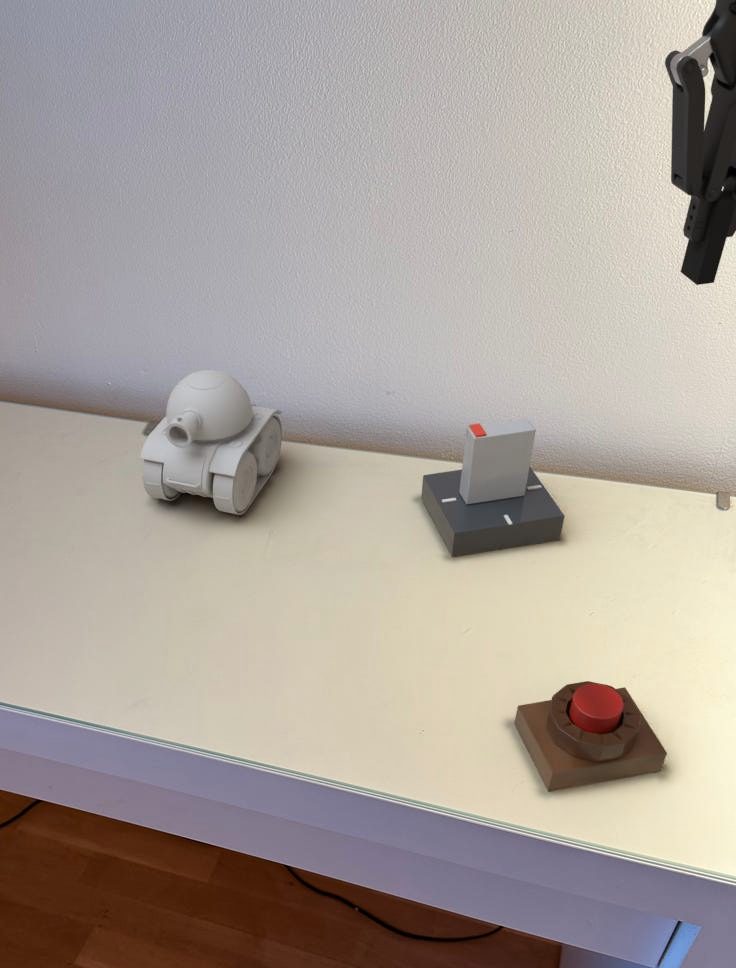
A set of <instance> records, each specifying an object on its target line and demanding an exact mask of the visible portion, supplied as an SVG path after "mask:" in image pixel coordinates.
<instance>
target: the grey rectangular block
mask: <svg viewBox="0 0 736 968" xmlns="http://www.w3.org/2000/svg"><path fill="white" fill-rule="evenodd" d="M465 432H466V433H465V439H464V449H463V458H462V465H461V470H462V474H461V482H460V491H459V492H460V494H461V496H462V498H463V499H464V501H465V503H466V504H473V503H480V502H486V501H493V500H500V499H506V498H513V497H519V496H524V495H525V490H526V484H527V479H528V473H529V467H531V460H532V455H533V449H534V443H535V437H536V428H535V427H534V425H533V424H532V422H531V421H530V420H529V419H528V418H527V417H526V418H525V417H524V418H518V419H512V420H505V421H504V420H503V421H497V422H490V423H483V424H481V423H473V424H469V425H468V426H466V431H465Z"/></svg>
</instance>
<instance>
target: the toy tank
mask: <svg viewBox="0 0 736 968" xmlns="http://www.w3.org/2000/svg"><path fill="white" fill-rule="evenodd" d="M165 413H166V415H165V416H164V418H162V420H161V421H160V422H159V423H158V424H157V426H155V428H154V429H153V430H152V431H151V432H150V433H149V435H148V436H147V438H146V440H145V441H144V444H143V446H142V448H141V451H140V455H139V459H140V460H143V465H142V482H143V483H142V484H143V487H144V491H145V492H146V494H147V495H148V496H149V497H151V498H156V499H160V500H164V501H170V502H172V501H175V500H176V499H177V498H179V497H180V495H182V493H183V494H185V493H187V494H190V495H193V496H196V495H198V496H201V497H203V498H206V497H207V498H212V500H213V504H214V506H215V508H216V509H217V510H218V511H219V512H222V513H228V514H232V515H238V516H242V515H243V514H245V513H246V512H247V511H248V509H249V507H250V506H251V505H252V503H253V502H254V500H255V499H256V498H257V496H258V495H259V493H260V491H261V490H262V489H263V487H264V486H265V484H266V483H267V481H268V480H269V479H270V477H271V476H272V474H273V473H274V471H275V469H276V467H277V464H278V461H279V458H280V454H281V450H282V441H283V427H282V422H281V419H280V417H279V416H278V415H281V414H282V411H281V410H280V409H277V408H271V407H264V406H259V405H257V404H256V403H254V402H251V397H250V396H249V394H248V392H247V390H246V389H245V387H244V385H243V384H242V383H240V381H238V380H237V379H236V378H235V377H233V376H232V375H230V374H228V373H226V372H224V371H221V370H215V369H203V370H197V371H194V372H192V373H189V374H188V375H186V376H185V377H184V378H182V379H181V380H180V381H179V382H177V384H176V385H175V386H174V388H173V389H172V391H171V393H170V395H169V397H168V400H167V405H166V412H165Z"/></svg>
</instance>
